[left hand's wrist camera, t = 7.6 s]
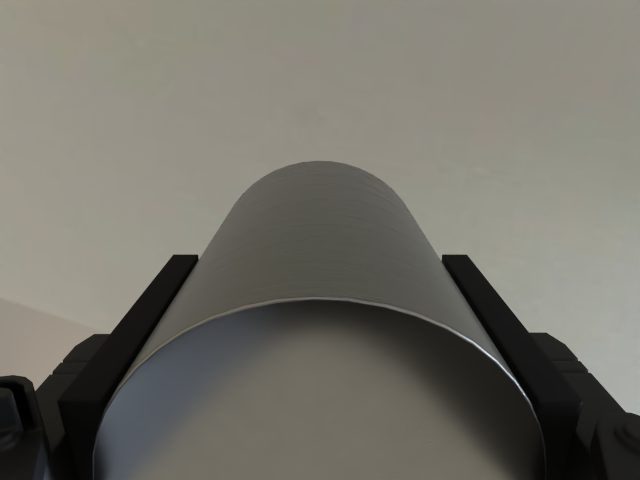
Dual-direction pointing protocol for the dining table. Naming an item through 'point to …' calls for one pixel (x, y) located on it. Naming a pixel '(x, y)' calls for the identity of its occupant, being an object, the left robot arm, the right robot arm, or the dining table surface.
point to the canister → (319, 354)
